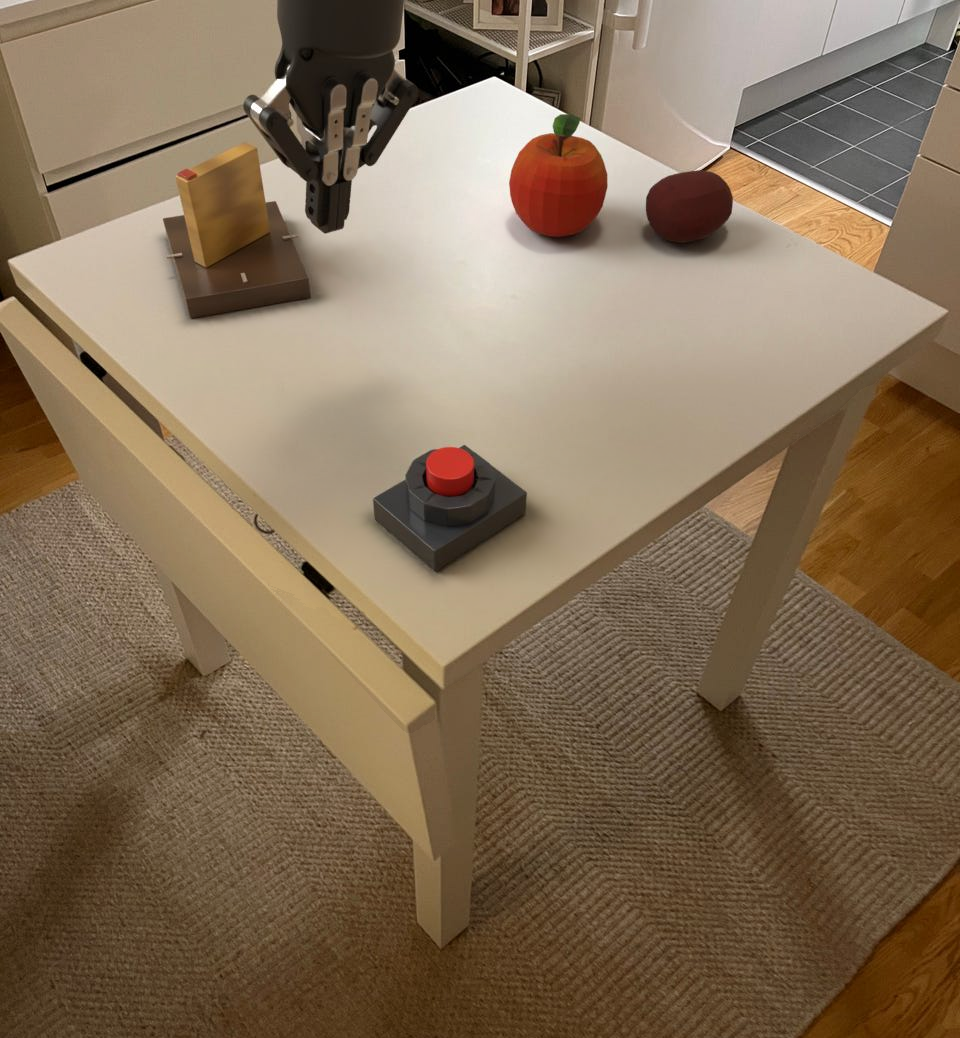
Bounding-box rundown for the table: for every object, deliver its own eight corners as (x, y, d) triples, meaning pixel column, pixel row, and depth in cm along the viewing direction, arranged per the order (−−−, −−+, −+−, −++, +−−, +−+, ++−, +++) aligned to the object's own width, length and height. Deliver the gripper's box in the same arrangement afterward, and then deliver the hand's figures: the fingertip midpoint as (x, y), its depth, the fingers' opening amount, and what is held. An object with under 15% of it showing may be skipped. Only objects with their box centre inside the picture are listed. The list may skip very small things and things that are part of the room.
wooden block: (258, 226, 95) (244, 138, 88) (270, 232, 94) (256, 144, 88) (194, 261, 91) (174, 173, 84) (206, 268, 90) (186, 179, 84)
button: (448, 504, 70) (447, 486, 69) (417, 479, 72) (416, 460, 70) (483, 482, 72) (484, 464, 70) (452, 458, 73) (452, 439, 72)
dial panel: (160, 238, 97) (155, 217, 95) (284, 218, 99) (281, 198, 98) (183, 320, 89) (178, 298, 87) (317, 296, 91) (314, 275, 90)
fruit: (493, 240, 98) (496, 137, 90) (524, 193, 103) (530, 93, 95) (586, 261, 96) (598, 158, 88) (613, 212, 101) (626, 111, 93)
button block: (435, 572, 71) (434, 533, 68) (374, 519, 74) (370, 479, 71) (525, 513, 75) (529, 474, 72) (464, 465, 78) (464, 425, 75)
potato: (630, 220, 101) (639, 161, 96) (712, 210, 102) (725, 151, 97) (657, 260, 96) (668, 201, 91) (742, 249, 98) (757, 190, 93)
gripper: (390, -84, 63) (365, 182, 76) (209, -71, 56) (216, 221, 69) (470, -37, 60) (429, 231, 73) (290, -17, 53) (280, 276, 66)
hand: (325, 226), depth 71 cm, fingers closed
